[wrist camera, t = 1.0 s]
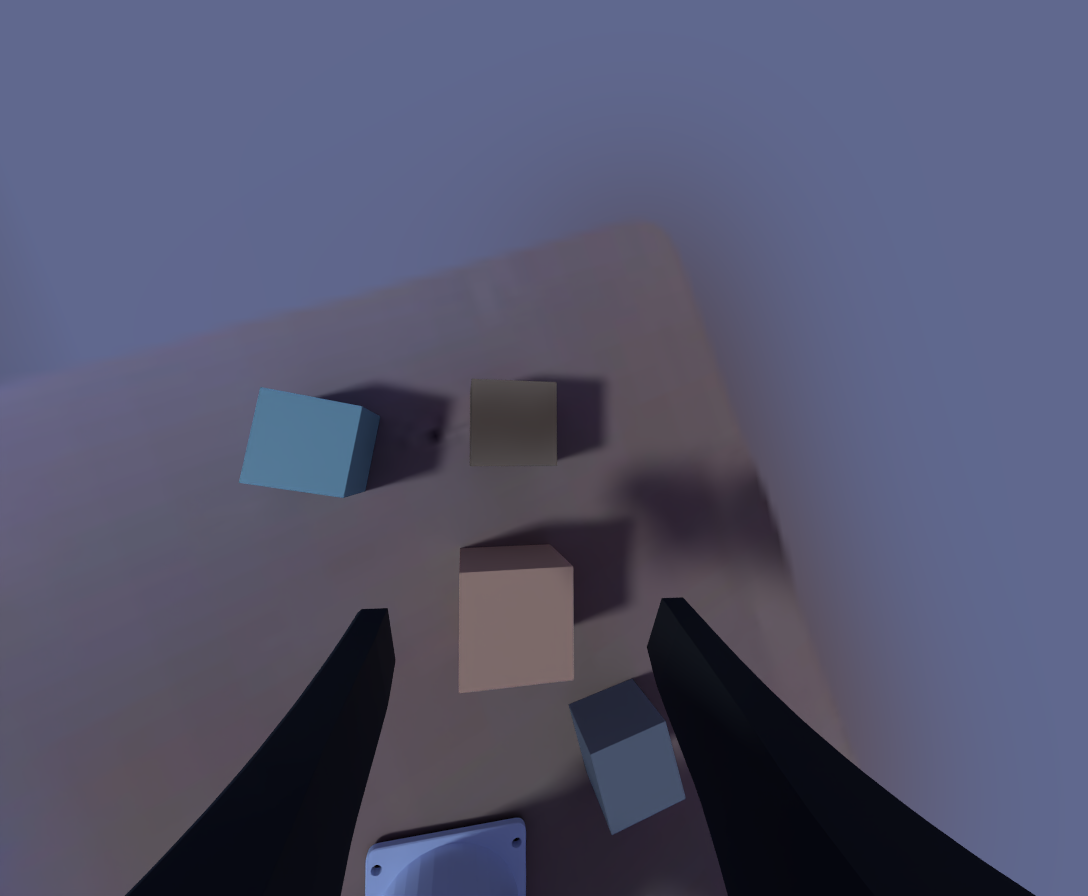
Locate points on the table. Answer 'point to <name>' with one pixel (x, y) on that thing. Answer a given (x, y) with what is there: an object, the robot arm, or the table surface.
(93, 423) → the table surface
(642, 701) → the charcoal block
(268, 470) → the dull teal block
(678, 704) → the robot arm
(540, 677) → the terracotta block
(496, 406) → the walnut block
